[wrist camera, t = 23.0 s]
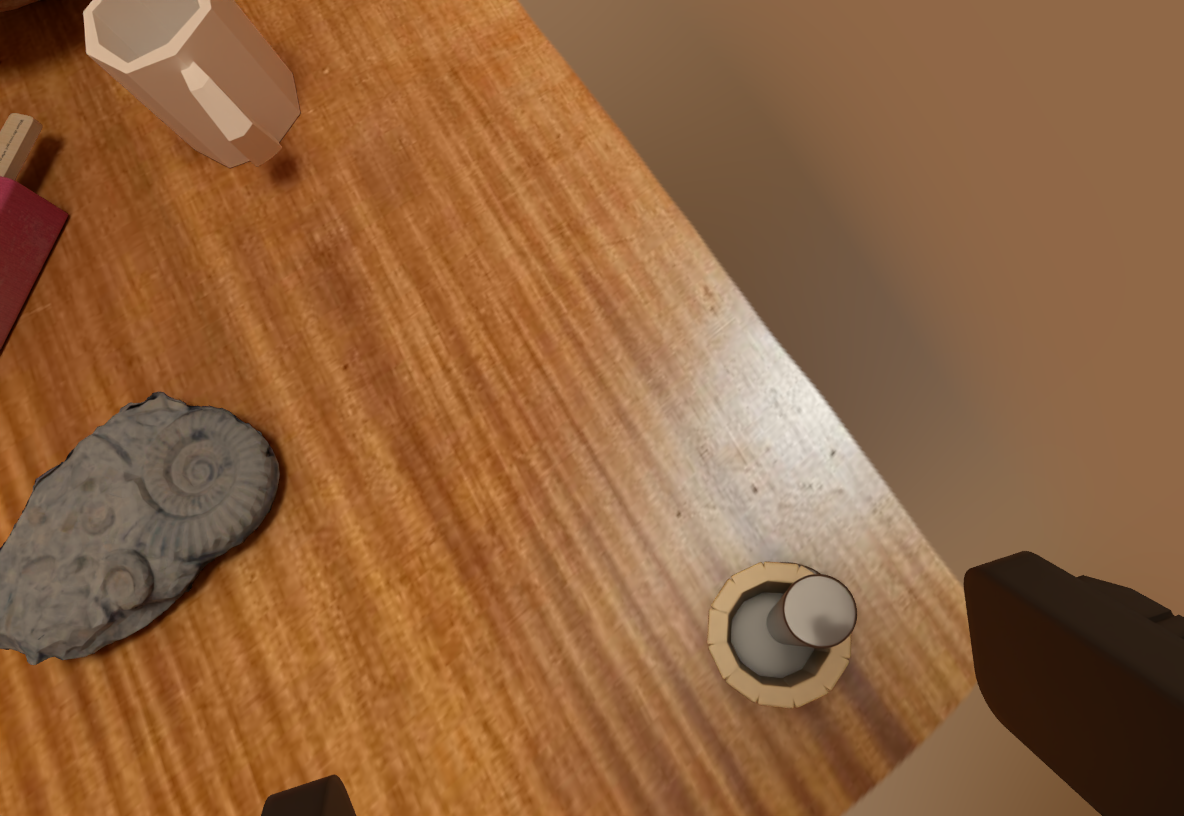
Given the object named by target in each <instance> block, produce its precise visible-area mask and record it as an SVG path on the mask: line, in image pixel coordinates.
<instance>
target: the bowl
mask: <svg viewBox="0 0 1184 816" xmlns="http://www.w3.org/2000/svg"><path fill="white" fill-rule="evenodd" d="M37 1H40V0H0V12H5V11H10V10H14V9H18V8H21V7H23V6H25V5H28V4H30V3H33V2H37Z"/></svg>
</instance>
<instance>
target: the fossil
mask: <svg viewBox="0 0 1184 816" xmlns="http://www.w3.org/2000/svg"><path fill="white" fill-rule="evenodd" d="M152 394H153V395H151V396H150V397H148V398H147V400H145V401H144V402H142V403H129V404H127V405H126V406H124V407H122V408H121V409H120V412H119V413H117V414H116V415H114V416H113V417H112V418H111V419H110V420H109V421H108V422H107V423H106V424H105V425H103V426H99V427H97V428H96V430H95V431H94V433H93V434H91V435H89V436H88V437H86V438H85V439H83V440H82V441H80V442H79V443H78V445H77V446H76V447H75V448H74V449H73V450H72V451H71V452H70V453H69V454H68V456H67V458H66V460H65V462H62V463H61V464H60V465H58V466H56V467H54V468H52V469H50V470H49V471H47V472H46V473H44V474H43V475H42V476H40V477H39V478H37V479H36V481H35V485H34V486H33V492H32V494H31V496H30V498H29V500H28V501H27V504H26V508H25V509H24V511H22V515H21V517H20V518H19V519H18V522H17V523H16V524H15V525H14V527H13V531H12V532H11V534H10V536H9V537H8V539H7V541H6V542H4V544H3V546H2V547H1V548H0V649H5V650H9V649H13V650H16V651H19V652H20V653H23V654H25V655H26V657H27V662H28V663H30V664H31V665H36V664H38V663H40V662H42V661H44V660H46V659H48V658H50V657H57V658H59V659H61V660H66V659H73V658H80V657H85V656H87V655H89V654H93V653H95V652H96V651H98V650H99V649H100V648H102V647H104V646H106V645H108V644H112V643H113V642H115V641H117V640H121V639H123V638H125V637H128V636H129V635H131V634H133V633H134V632H136V631H138V630H140V629H142V628H144V627H145V626H148V625H149V623H152V621H153V619H156V618H157V617H158V616H159V615H162V613H163V612H164V611H165V610H167V609H168V608H169V607H170V606H171V605H172V604H173V603H174V602H175V601H176V600H177V599H178V598H180V597H181V596H182V595H183V594H184V592H188V591H189V590H190V589H191V588H192V584H193V581H194V580H195V578H196V577H197V575H198V574H199V573H200V571H201V570H203V568H204V567H205V566H206V565H207V564H208V563H210V562H211V561H213V560H214V559H215V558H216V557H217V556H220V555H222V554H224V553H226V552H227V551H228V550H229V549H231V548H232V547H234V546H237V545H239V544H241V543H242V542H244V541H245V539H246V538H247V537H248V536H249V535H250V534H251V533H253V532H254V530H256V529H257V528H258V526H259V525H260V524H261V523H262V521H263V520H264V518H265V516H266V515H267V513H269V512H270V510H271V507H272V504H273V501H274V499H275V496H276V492H277V488H278V484H279V476H280V473H279V463H278V461H277V459H276V456H275V454H274V452H273V450H272V448H271V447H270V445H269V444H268V442H267V441H266V440H265V438H264V437H263V436H262V433H261V432H259V431H257V430H255V428H253V427H252V426H251V425H250V424H249V423H244V422H243V421H241V420H239V419H238V418H236V416H235V415H233V414H232V413H231V412H230V411H227V410H225V409H223V408H215V407H212V406H210V405H209V406H210V407H209V406H202V407H200V406H188V405H186V403H184V402H182V401H181V400H176V399H174V398H172V397H169V396H167V395H166V394H165V393H164V392H156V393H152Z"/></svg>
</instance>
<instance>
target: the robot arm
mask: <svg viewBox="0 0 1184 816" xmlns="http://www.w3.org/2000/svg"><path fill="white" fill-rule="evenodd" d="M964 593H965V601H966V608H967V616H968V623H969V631H970V638H971V646H972V653H973V661H974V668H975V674H976V679H977V682H978V685H979V688H980V690H981V693H982V695H983V697H984V699H985V701H986V703H987V704H988V706H989V708H990V709H991V711H992V712H993V714H994V715H995V716H996V718H997V719H998V720H999V721H1000V722H1001V723H1002V724H1003V725H1004V726H1005V727H1006V728H1007V729H1008V730H1009V731H1010V732H1011V733H1012V734H1014V735H1015V736H1016V737H1017V738H1018V739H1019V740H1020V741H1021V742H1022V743H1023V744H1024V745H1026V746H1027V747H1028V748H1029V749H1030V750H1031V751H1032V752H1033V753H1034V754H1035V755H1036V756H1038V757H1039V758H1040V759H1041V760H1042V761H1043V762H1044V763H1045V764H1046V765H1047V766H1048V767H1050V768H1051V769H1052V770H1053V771H1054V772H1055V773H1056V774H1057V775H1058V776H1059V777H1060V778H1061V779H1063V780H1064V781H1065V782H1066V783H1067V784H1068V785H1069V786H1070V787H1071V788H1072V789H1073V790H1075V791H1076V792H1077V793H1078V794H1079V795H1080V796H1081V797H1082V798H1083V799H1084V800H1085V801H1087V802H1088V803H1089V804H1090V805H1091V806H1092V807H1093V808H1094V809H1095V810H1096V811H1097V812H1099V813H1100V814H1101V815H1102V816H1184V617H1182V616H1180V615H1177V616H1174V615H1173V614H1172V612H1171V610H1169V609H1168V608H1165V607H1164V606H1162V605H1160V604H1158V603H1157V602H1155V601H1153V600H1151V599H1149V598H1148V597H1146V596H1144V595H1142V594H1140V593H1138V592H1137V591H1135V590H1133V589H1131V588H1127V587H1124V586H1120V585H1117V584H1112V583H1109V582H1106V581H1102V580H1099V579H1095V578H1091V577H1087V576H1084V575H1082V576H1079V577H1075V576H1073V575H1071V574H1069V573H1068V572H1066V571H1064V570H1063V569H1060V568H1059V567H1057V566H1056V565H1054V564H1052V563H1050V562H1049V561H1047V560H1045V559H1043V558H1042V557H1040V556H1038V555H1036V554H1034V553H1032V552H1029V551H1022V552H1019V553H1016V554H1013V555H1010V556H1007V557H1004V558H1000V559H997V560H994V561H992V562H988V563H985V564H982V565H979V566H976V567H973V568H970V569H969V570H968V571H967V572H966V574H965V577H964ZM261 816H356V814H355V811H354V809H353V806H352V804H351V801H350V798H349V796H348V793H347V791H346V789H345V786H344V784H343V783H342V781H341V780H340V778H339V777H338V776H337V775H331V776H328V777H325V778H322V779H318V780H315V781H312V782H309V783H306V784H303V785H300V786H297V787H294V788H291V789H288V790H285V791H282V792H279V793H276V794H273V795H270V796H269V797H268V798H267V800H266V802H265V804H264V807H263V811H262V814H261Z"/></svg>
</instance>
